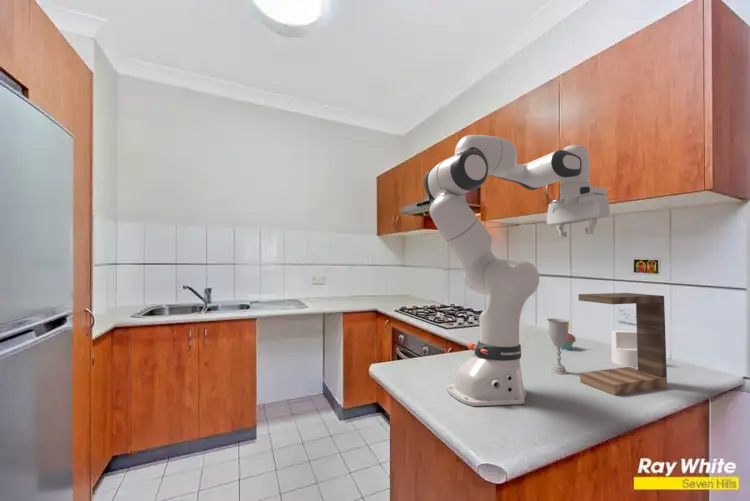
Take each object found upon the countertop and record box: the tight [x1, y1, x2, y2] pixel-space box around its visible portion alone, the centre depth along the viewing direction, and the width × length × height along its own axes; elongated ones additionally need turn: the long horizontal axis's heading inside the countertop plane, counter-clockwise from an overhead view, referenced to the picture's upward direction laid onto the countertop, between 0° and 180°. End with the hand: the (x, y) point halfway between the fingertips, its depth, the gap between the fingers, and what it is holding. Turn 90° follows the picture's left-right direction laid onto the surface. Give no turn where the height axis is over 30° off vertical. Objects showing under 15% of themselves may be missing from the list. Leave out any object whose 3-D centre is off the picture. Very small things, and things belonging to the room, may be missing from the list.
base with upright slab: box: [610, 330, 638, 368], centre depth 126 cm, size 9×9×12 cm
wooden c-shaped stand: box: [578, 292, 668, 396], centre depth 103 cm, size 22×11×28 cm, turn 108°
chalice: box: [546, 318, 570, 375], centre depth 115 cm, size 7×7×18 cm
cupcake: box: [560, 322, 576, 350], centre depth 148 cm, size 9×8×12 cm
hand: (575, 235), depth 108 cm, fingers open, 8 cm apart
